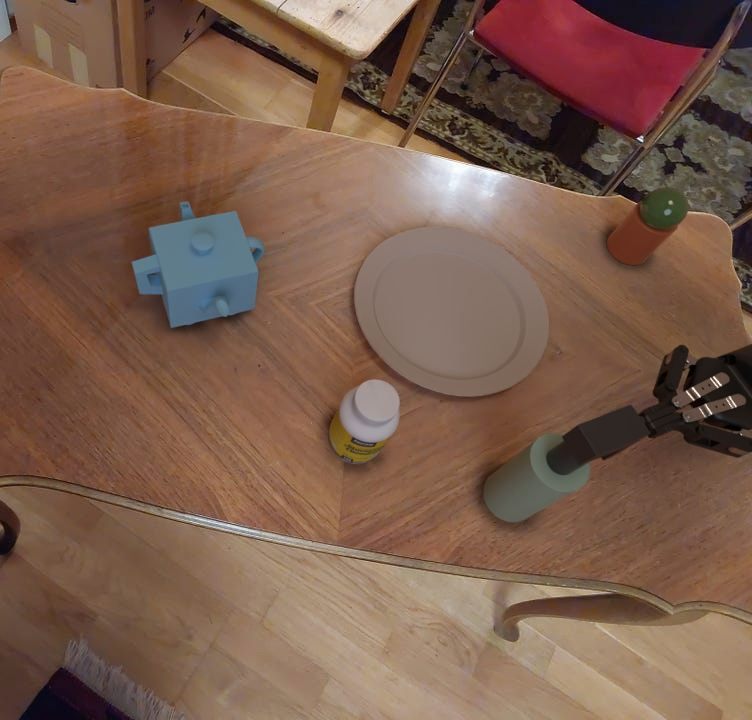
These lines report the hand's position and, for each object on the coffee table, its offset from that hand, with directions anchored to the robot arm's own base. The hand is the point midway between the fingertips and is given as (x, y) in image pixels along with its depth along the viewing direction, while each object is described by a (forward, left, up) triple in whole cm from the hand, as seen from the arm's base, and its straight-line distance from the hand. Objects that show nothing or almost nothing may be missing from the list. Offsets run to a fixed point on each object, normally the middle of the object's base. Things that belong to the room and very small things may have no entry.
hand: (641, 427), depth 65 cm
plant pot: (-13, -34, -14) cm, 39 cm away
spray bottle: (+7, +4, -14) cm, 16 cm away
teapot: (+46, -18, -14) cm, 52 cm away
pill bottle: (+26, -1, -14) cm, 30 cm away
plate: (+14, -20, -14) cm, 28 cm away
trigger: (+3, +2, -3) cm, 4 cm away
